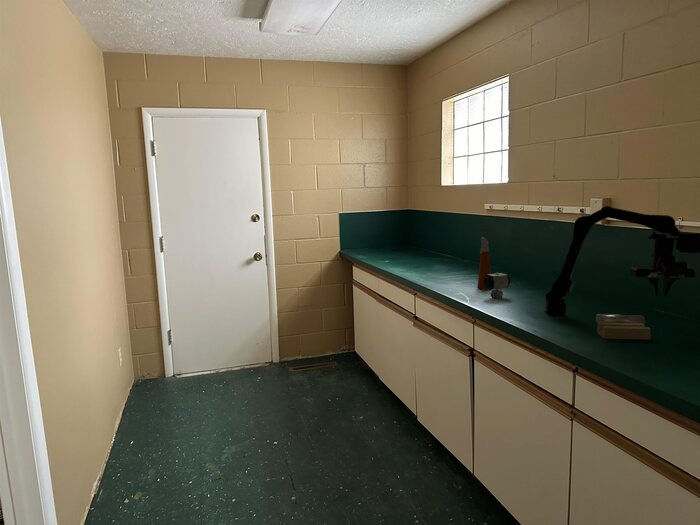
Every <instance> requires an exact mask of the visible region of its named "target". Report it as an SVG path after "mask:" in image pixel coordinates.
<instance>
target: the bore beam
mask: <svg viewBox="0 0 700 525" xmlns="http://www.w3.org/2000/svg"><path fill="white" fill-rule="evenodd" d="M599 315H621V314H619V313H596V314H595V323H596V324H598V323H599ZM603 323H631V321H629V320H612V319H604V321H603Z"/></svg>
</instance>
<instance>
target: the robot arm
mask: <svg viewBox="0 0 700 525" xmlns="http://www.w3.org/2000/svg"><path fill="white" fill-rule="evenodd" d="M607 218H609V219H614V220H617V221H618V220H619V221H623V222H628V223H632V224H636V225H642V226H644V227H646V228H649V229H650V230H653V232H652V233H651V234H650V235H649V236H648V238H647V239H649V240H654V241H653V253H651V258H652V265H650V268H647V267H644V266H631V267H630V269H629V275H630V276H633V277H635V278H646V279H647V281H648V283H649V285H650V287H651V290H652V292H653V294H654V296H655V297H658V294H659V281H660V277H658V276H659V275H662V276H663V277H662V296H663V297H666V296H667V294H668V292H669V291H670V289H671V287H672V286H673V284H674V282H676V281H677V280H680V279H681V277H680V275H682V276H683V277H684V278H695V277H696V269H695V268H692V267H689V266H688V263H687V262H686V261H676V256H675V255H674V248H675V250H676V251H679V253H680V254H681V253H682V254H699V255H700V232H693V233H692V232H691V233H684V232H681V230H680V229H679V228H678V227H677V226H676V219H675V218H674V217H673V216H671V215H666V214H665V215H664V214H646V213H645V214H644V213H642V212H635V211H631V210H626V209H620V208H616V207H612V206H610V205H606V206H603V207H602V208H600V209H599V210H597V211H595V212H593V213H591V214H589V215H583V216H580V217H578V218H576V219H575V222H574V223H573V224H574V225H573V231H572V232H573V233H572V234H573V235H572V236H573V237H572V241H571V243H570V246H569V249H568V252H567V254H566V258H565V261H564V263H563V266H562V268H561V271H560V274H559V275H558V277H557V278H556V280H555V281H554V283H553V285H552V287H551V290H550V291H548V292H547V293H546V294H545V295H544V297H545V310H544V313H545V315H546V316H548V317H566V314H567V312H566V310H567V304H566V301H565V299H564V298H565V296H566V295H567V294H568V293H571V291H573V286H574V284H575V283H576V280H575V279H573V278H572V277H573V273H574V270H575V268H576V265H577V263H578V261H579V260H578V259H579V257H580V254H581V251H582V249H583V245H584V242H585V241H586V239H587V238H588V236H589V234H590V232H592V229H593V228H594V226H595V224H597V223H599V222H601V221H602V220H605V219H607ZM657 232H658V233H657ZM667 234H668V235H670V236H667ZM675 240H676V242H675ZM674 245H675V246H674Z"/></svg>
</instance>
